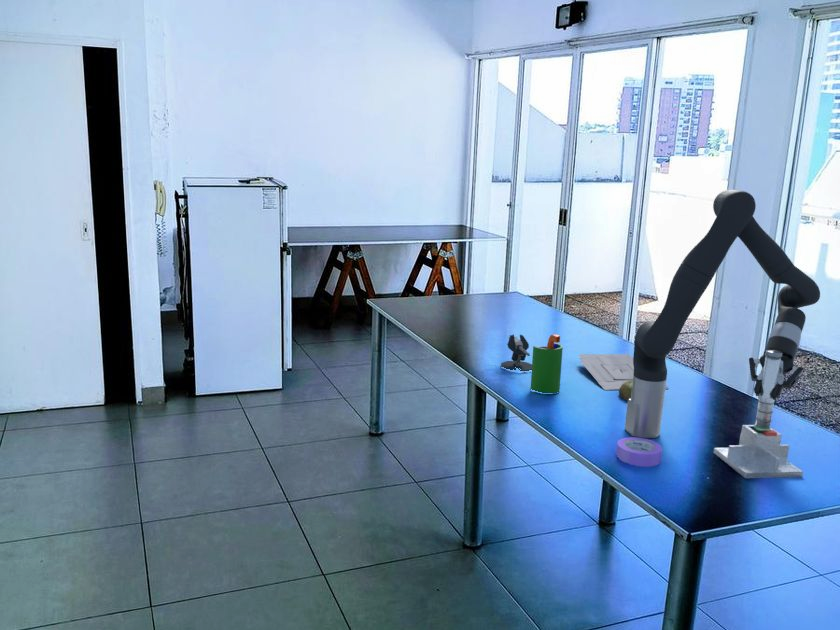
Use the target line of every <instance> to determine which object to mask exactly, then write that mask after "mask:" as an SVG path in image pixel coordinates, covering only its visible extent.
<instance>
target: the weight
mask: <svg viewBox="0 0 840 630" xmlns="http://www.w3.org/2000/svg"><path fill="white" fill-rule="evenodd" d="M632 384H633V380H632V381H627V382H625V383H623V384H622V386H621V387H620V389H618V394H619V397H620V398H621V399H624V400H625V401H627V402H628V399H631V392H632Z"/></svg>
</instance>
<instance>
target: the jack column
mask: <svg viewBox="0 0 840 630" xmlns="http://www.w3.org/2000/svg"><path fill="white" fill-rule="evenodd" d="M765 356H766V358H765V364H764V371H763V377H762V384H761V390H760V395H759V396H758V403H757V407H756V417H755V423H754V424H753V425H754V431H755V432H757V433H758V434H763V430H770V427H771V422H772V415H773V411H774V405H775V400H773V393H774V390H775V387H776V384H778V373H779V367H780V360H781V358H782V352H780V351H776V350H766V352H765Z"/></svg>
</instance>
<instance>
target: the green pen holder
mask: <svg viewBox="0 0 840 630" xmlns="http://www.w3.org/2000/svg"><path fill="white" fill-rule="evenodd" d="M560 341H561V335H559V334H556V333H555V334H550V335H549V338H548V341H547V345H546V346H536V345H533V346H532V357H531V358H532V361H531V364H532V372H531V377H530V379H531V380H530V390H531V389H532V390H535V391H538V392H542V393H557V392H559V393H560V391H561V390H560V389H561V377H562V376H561V375H562V364H563V363H562V362H563V361H562V360H563V350H564V348H563V347H564V346H563V345H562V344H560ZM559 390H560V391H559ZM557 394H558V393H557Z"/></svg>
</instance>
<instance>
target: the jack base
mask: <svg viewBox="0 0 840 630" xmlns="http://www.w3.org/2000/svg"><path fill="white" fill-rule="evenodd" d="M754 425H755V424H742V425H741V432H740V435H739V442H738V444H737V445H733V444H732V445H731V444H730V445H728V447H714V448H713V454H714V455H716V456H717V457H718V458H720V459H721V461H724V463H726V464H727V465H728V466H729V467H731V468H732V469H733V470H734V471H735V472H736V473H738V474H739V475H741V477H742V478H744V479H764V478H766V479H772V478H778V479H779V478H803V473H804V472H803V470H802V469H800V468H799V467H797V466H796V465H794V464H793V463H791V462H790V461H789V460H788V456H789V451H790V445H789V444H788V443H787V444H782V443H781V442H782V435H783V434H782V433H781V432H778V431H777V430H776V429H774V428H772V427H771V426H770V430H763V434H758V433H757V432H755V431H754Z"/></svg>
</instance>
